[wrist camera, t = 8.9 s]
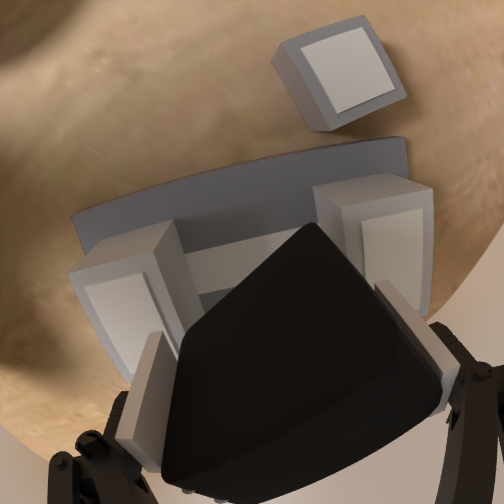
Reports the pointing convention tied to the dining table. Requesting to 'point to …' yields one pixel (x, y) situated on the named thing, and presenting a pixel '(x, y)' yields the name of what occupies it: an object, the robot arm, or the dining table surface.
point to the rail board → (246, 237)
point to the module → (338, 73)
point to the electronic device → (291, 379)
